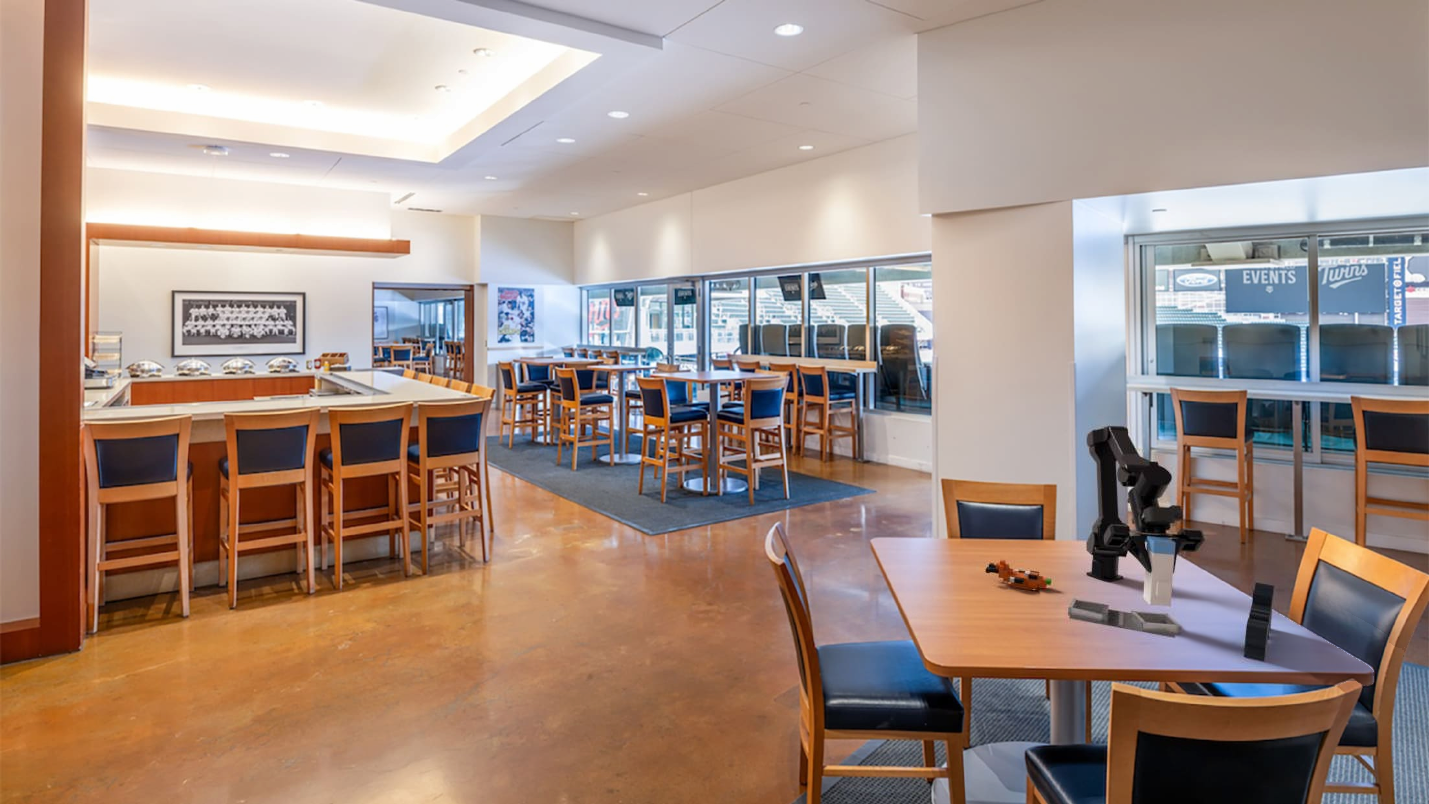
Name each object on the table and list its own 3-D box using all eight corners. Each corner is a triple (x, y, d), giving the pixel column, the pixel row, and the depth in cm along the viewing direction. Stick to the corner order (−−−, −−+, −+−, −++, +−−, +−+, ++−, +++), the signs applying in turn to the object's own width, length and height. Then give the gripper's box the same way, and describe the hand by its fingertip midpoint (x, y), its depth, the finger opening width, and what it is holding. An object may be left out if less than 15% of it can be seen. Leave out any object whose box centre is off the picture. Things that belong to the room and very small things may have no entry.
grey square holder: (1072, 607, 171) (1073, 598, 171) (1108, 614, 167) (1108, 605, 167) (1067, 617, 165) (1068, 607, 164) (1104, 624, 161) (1105, 615, 160)
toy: (991, 554, 192) (1053, 564, 184) (990, 576, 192) (1052, 587, 185) (985, 562, 185) (1049, 572, 177) (984, 585, 186) (1048, 596, 178)
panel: (1172, 622, 162) (1172, 619, 162) (1174, 640, 153) (1175, 636, 153) (1073, 605, 172) (1073, 601, 172) (1069, 620, 163) (1069, 616, 163)
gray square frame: (1130, 619, 164) (1131, 610, 163) (1166, 622, 162) (1167, 613, 162) (1142, 632, 156) (1143, 623, 156) (1180, 636, 155) (1181, 626, 155)
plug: (1142, 598, 161) (1147, 536, 160) (1163, 599, 160) (1167, 537, 159) (1151, 606, 156) (1156, 542, 155) (1173, 608, 155) (1177, 544, 154)
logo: (1252, 625, 162) (1255, 581, 161) (1270, 629, 160) (1274, 584, 159) (1243, 660, 144) (1247, 611, 143) (1264, 665, 142) (1268, 615, 141)
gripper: (1111, 488, 162) (1124, 551, 152) (1204, 493, 158) (1224, 557, 149) (1098, 514, 171) (1110, 575, 161) (1186, 519, 167) (1204, 582, 157)
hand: (1161, 572), depth 157 cm, fingers closed on plug, 4 cm apart
